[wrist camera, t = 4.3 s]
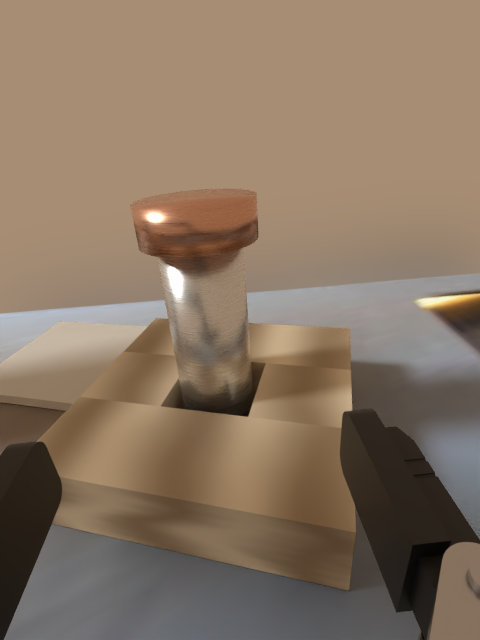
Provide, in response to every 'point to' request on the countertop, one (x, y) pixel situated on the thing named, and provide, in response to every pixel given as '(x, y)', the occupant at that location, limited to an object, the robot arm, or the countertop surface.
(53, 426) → the bore block
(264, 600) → the countertop surface
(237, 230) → the copper-capped metal cylinder
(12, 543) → the robot arm
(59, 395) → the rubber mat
